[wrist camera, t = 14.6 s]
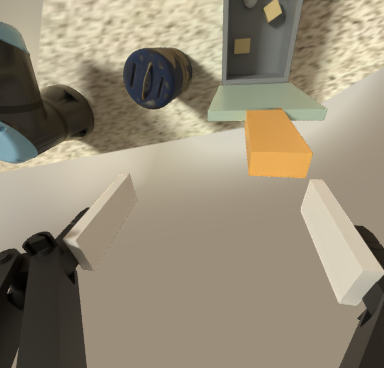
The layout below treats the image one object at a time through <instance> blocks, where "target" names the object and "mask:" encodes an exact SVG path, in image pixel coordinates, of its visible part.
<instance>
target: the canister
mask: <svg viewBox="0 0 384 368" xmlns="http://www.w3.org/2000/svg"><path fill="white" fill-rule="evenodd" d="M123 77H124V83H125V87H126V89H127V91H128V93H129V95H130V96H131V98H132V99H133V100H134V101H135V102H136V103H137V104H139V105H140V106H142V107H144V108H147V109H159V108H162V107H164V106H166V105H167V104H168V103H170V102H171V101H172V100H173V99H175V98H177V97H178V96H179V95H180V94H181V93H182V92H183V91H184V90H186V89H187V87H188V86H189V84H190V82H191V78H192V67H191V64H190V61H189V59H188V58H187V56H186V55H185V54H184V53H183V52H182V51H180V50H178V49H176V48H143V49H139V50H137V51H135V52H133V53H132V54H131V55H130V56H129V57H128V59H127V60H126V63H125V66H124V71H123Z"/></svg>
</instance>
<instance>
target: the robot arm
mask: <svg viewBox="0 0 384 368" xmlns="http://www.w3.org/2000/svg"><path fill="white" fill-rule="evenodd" d="M93 126H94V117H93V113H92V111H91V108H90V106H89V105H88V103H87V102H86V100H85V99H84V98H83V97H82V96H81V95H80V94H79V93H78V92H77V91H75V90H74V89H72V88H70V87H68V86H65V85H53V86H49V87H47V88H45V89H44V90H43V91H41V92H40V91H39V87H38V84H37V80H36V77H35V74H34V70H33V67H32V63H31V59H30V54H29V52H28V51H27V48H26V45H25V42H24V39H23V37H22V35H21V34H20V32H19V31H18V30H17V29H16V28H15V27H13V26H11V25H9V24H6V23H3V22H0V160H2V161H4V162H8V163H22V162H25V161H27V160H30V159H32V158H35V157H37V156H38V155H39V154H41V153H43V152H45V151H47V150H48V149H50V148H52V147H54V146H56V145H58V144H59V143H61V142H63V141H70V140H79V139H82V138H84V137H86V136H87V135H89V134H90V133H91V131H92V130H93ZM136 202H137V197H136V194H135V190H134V187H133V183H132V180H131V176H130V174H127V173H121V174H120V175H119V176H118V177H117V178H116V179H115V180H114V182H113V183H112V184H111V185H110V186H109V187H108V188H107V189H106V191H105V192H104V193H103V194H102V195H101V196H100V197H99V199H98V200H97V201H96V202H95V203H94V204H93V205H92V206H91V208H86V209H85V210H83V211H81V212H80V213H79V214H78V215H77V216H76V217H75V219H74V220H73V221H72V222H71V223H70V224H69V225H68V226H67V227H66V228H65V229H64V230H63V232H62V233H61V234H60V235H59V236H58V237H57V238H56V239H54V237H53V236H52V235H51V234H50V233H49V232H40V233H37V234H35V235H32V236H31V237H30V238H28V239H27V240H26V241H25V242H24V243H23V246H22V247H23V249H24V250H25V251H26V252H27V253H23V254H21V253H20V252H19V251H17V250H16V249H14V248H13V249H8V250H5V251H2V252H1V253H0V368H11V367H12V364H13V361H14V358H15V356H16V353H17V350H18V347H19V350H18V357H17V366H16V368H87V365H86V355H85V345H84V335H83V327H82V315H81V306H80V297H79V286H78V276H77V271H76V269H75V268H76V267H77V265H78V264H79V265H80V266H81V268H82V269H84V270H91V271H94V270H95V268H96V267H97V265H98V264H99V262H100V260H101V259H102V257H103V256H104V254H105V252H106V251H107V249H108V247H109V246H110V244H111V243H112V241H113V239H114V238H115V236H116V235H117V233H118V231H119V230H120V228H121V226H122V225H123V223H124V221H125V220H126V218H127V217H128V215H129V213H130V212H131V210H132V208H133V207H134V205H135V204H136ZM300 211H301V213H302V216H303V218H304V220H305V222H306V225H307V228H308V230H309V232H310V235H311V237H312V240H313V242H314V245H315V247H316V249H317V252H318V254H319V257H320V259H321V262H322V264H323V266H324V269H325V271H326V274H327V276H328V278H329V281H330V283H331V286H332V288H333V291H334V293H335V295H336V298H337V300H338V303H341V304H348V305H355V306H356V305H358V303H360V301H361V300H363V302H364V304H365V306H366V307H367V309H366V310H365V311H364V312H363V313H362V314H361V315H360V316H359V317H358V318H357V319H359V320H360V321H359V324H358V326H357V328H356V331H355V333H354V335H353V337H352V340H351V342H350V344H349V347H348V349H347V351H346V353H345V356H344V358H343V360H342V363H341V365H340V367H339V368H384V248H383V246H382V245H381V244H379V241H378V240H377V239H376V237H375V236H374V234H373V233H371V232H370V231H369V230H368V229H366V228H365V227H364V226H356V225H353V224H352V223H351V221H350V220H349V218H348V217H347V215H346V214H345V212H344V211H343V209H342V208H341V206H340V205H339V203H338V202H337V200H336V199H335V197H334V196H333V194H332V193H331V191H330V190H329V189H328V187H327V186H326V184H325V183H324V181H323V180H310V182H309V185H308V188H307V191H306V194H305V197H304V200H303V204H302V206H301V209H300ZM9 288H10V291H9V293H8V294H7V292H8V289H9Z"/></svg>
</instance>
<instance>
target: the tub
mask: <svg viewBox="0 0 384 368" xmlns="http://www.w3.org/2000/svg"><path fill="white" fill-rule="evenodd" d="M302 4H303V0H224V3H223V53H222V85H232V84H256V83H280V82H288V78H289V73H290V68H291V62H292V57H293V52H294V46H295V41H296V36H297V31H298V25H299V20H300V15H301V9H302Z"/></svg>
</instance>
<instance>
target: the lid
mask: <svg viewBox="0 0 384 368" xmlns="http://www.w3.org/2000/svg"><path fill="white" fill-rule="evenodd" d="M326 112H327V108H325V107H324V106H323V105H321V104H320V103H318V102H317V101H316V100H314V99H313V98H311V97H310V96H309V95H307V94H306V93H304V92H303V91H302V90H300V89H299V88H297V87H296V86H295V85H293V84H292V83H270V84H246V85H222V86H219V87H218V89H217V92H216V94H215V96H214V98H213V100H212V103H211V105H210V107H209V109H208V121H245V124H244V126H245V137H246V150H247V162H248V174H249V176H250V175H251V176H271V177H295V178H305V177H306V174H307V171H308V168H309V165H310V161H311V158H312V155H313V152H312V151H311V150H310V148H309V147H308V145H307V144H306V142H305V141H304V139H303V138H302V136H301V135H300V134H299V132H298V131H297V130H296V128H295V126H294V125H293V124H292V122H291V121H290V120H324V119H325V115H326Z"/></svg>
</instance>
